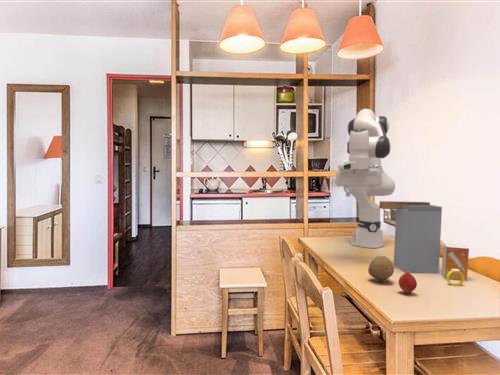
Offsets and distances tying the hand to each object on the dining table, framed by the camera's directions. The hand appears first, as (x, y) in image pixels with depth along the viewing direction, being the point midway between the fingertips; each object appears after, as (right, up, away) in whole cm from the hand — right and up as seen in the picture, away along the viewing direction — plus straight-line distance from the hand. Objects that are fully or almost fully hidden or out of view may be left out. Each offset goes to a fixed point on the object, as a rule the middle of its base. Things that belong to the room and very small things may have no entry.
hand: (358, 196), depth 165 cm
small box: (+34, -33, -16) cm, 50 cm away
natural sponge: (+2, -33, -23) cm, 40 cm away
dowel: (+19, -5, -3) cm, 20 cm away
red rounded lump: (+6, -33, -36) cm, 49 cm away
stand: (+23, -32, -5) cm, 40 cm away
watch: (+29, -33, -25) cm, 51 cm away
